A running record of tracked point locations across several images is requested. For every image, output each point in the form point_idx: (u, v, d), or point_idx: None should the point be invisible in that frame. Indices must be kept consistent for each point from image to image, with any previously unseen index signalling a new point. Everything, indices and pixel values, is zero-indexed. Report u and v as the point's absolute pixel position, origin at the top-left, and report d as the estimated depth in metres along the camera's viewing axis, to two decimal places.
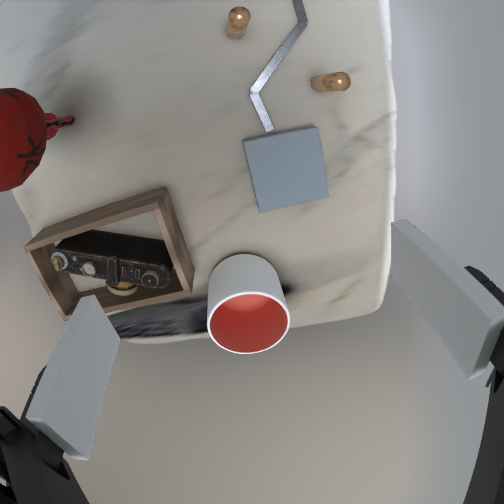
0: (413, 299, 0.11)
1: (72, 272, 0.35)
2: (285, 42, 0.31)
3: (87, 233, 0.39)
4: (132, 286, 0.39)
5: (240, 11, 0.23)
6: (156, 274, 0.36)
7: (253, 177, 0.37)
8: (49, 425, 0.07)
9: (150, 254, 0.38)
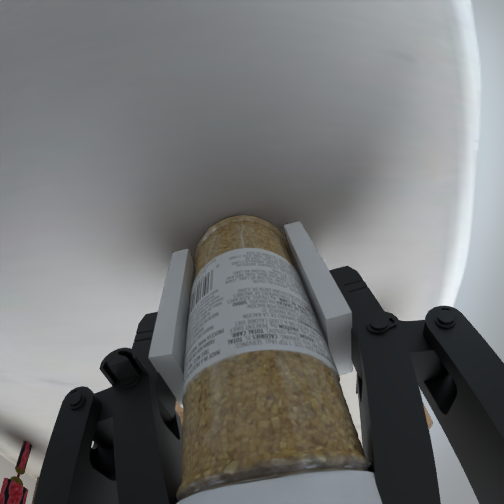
0: None
1: None
2: None
3: None
4: None
5: None
6: None
7: None
8: (177, 363, 0.09)
9: None
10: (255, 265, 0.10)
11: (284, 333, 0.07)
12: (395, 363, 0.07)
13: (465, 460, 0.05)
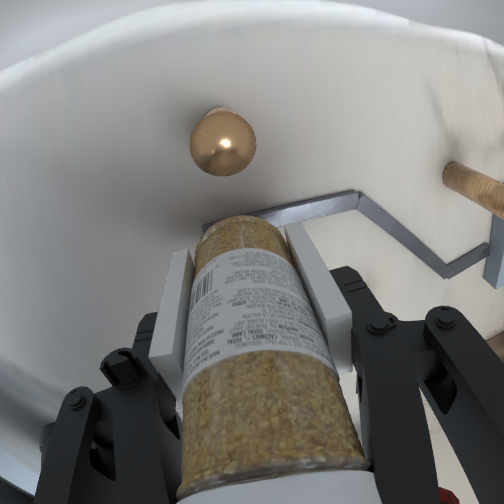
0: None
1: None
2: (393, 233, 0.20)
3: None
4: None
5: None
6: None
7: None
8: (177, 363, 0.09)
9: None
10: (254, 265, 0.10)
11: (284, 333, 0.07)
12: (395, 363, 0.07)
13: (465, 460, 0.05)
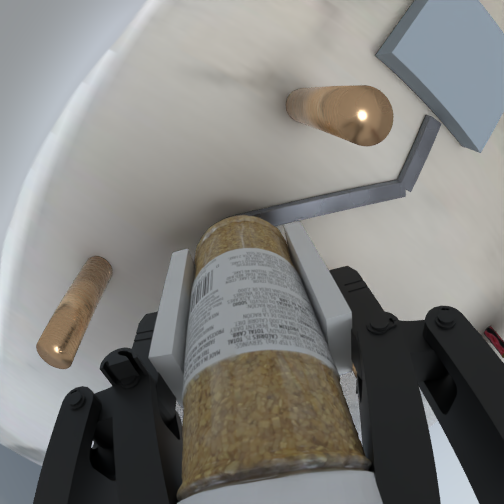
0: None
1: None
2: (292, 219, 0.18)
3: None
4: None
5: None
6: None
7: None
8: (177, 363, 0.09)
9: None
10: (255, 265, 0.10)
11: (284, 333, 0.07)
12: (395, 363, 0.07)
13: (465, 460, 0.05)
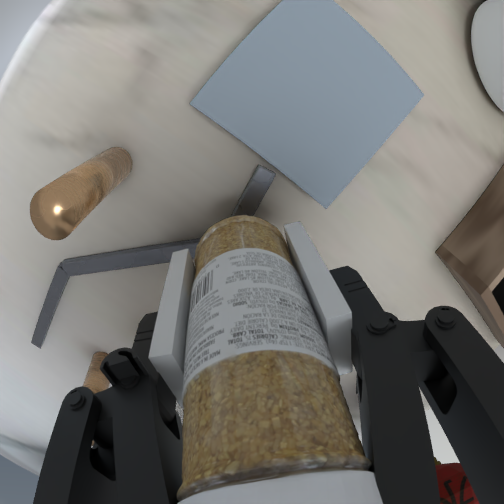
0: None
1: None
2: (111, 267, 0.19)
3: None
4: None
5: None
6: None
7: (375, 147, 0.15)
8: (177, 363, 0.09)
9: None
10: (255, 265, 0.10)
11: (284, 333, 0.07)
12: (396, 363, 0.07)
13: (465, 460, 0.05)
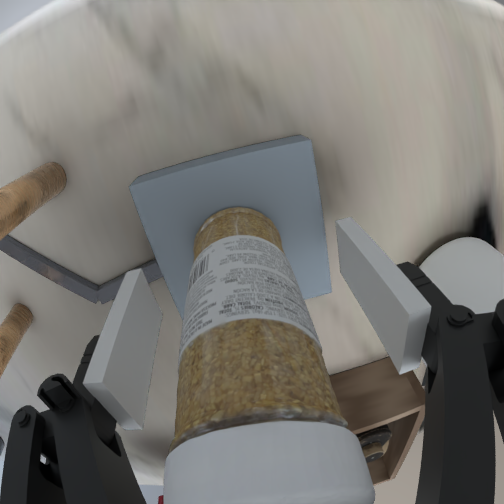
0: (355, 294, 0.13)
1: None
2: (6, 251, 0.16)
3: None
4: None
5: None
6: (367, 449, 0.20)
7: None
8: (109, 390, 0.08)
9: None
10: (246, 249, 0.11)
11: (269, 305, 0.08)
12: (471, 356, 0.06)
13: None
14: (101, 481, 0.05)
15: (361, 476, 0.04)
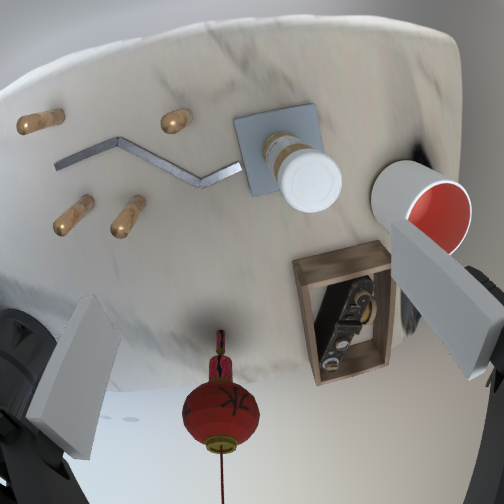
0: (413, 299, 0.11)
1: (343, 354, 0.43)
2: (142, 157, 0.34)
3: (316, 328, 0.47)
4: (370, 304, 0.41)
5: (115, 229, 0.30)
6: (359, 292, 0.37)
7: None
8: (49, 425, 0.07)
9: (342, 287, 0.40)
10: (292, 137, 0.28)
11: (304, 143, 0.25)
12: None
13: None
14: (50, 500, 0.04)
15: (334, 161, 0.21)
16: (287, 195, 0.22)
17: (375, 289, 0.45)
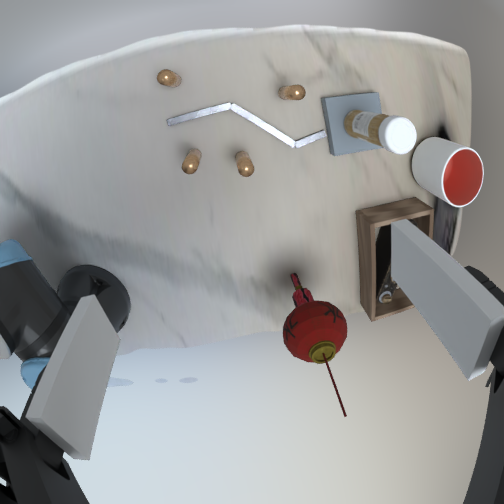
0: (413, 299, 0.11)
1: (394, 288, 0.53)
2: (251, 120, 0.43)
3: None
4: None
5: (242, 168, 0.39)
6: None
7: (360, 150, 0.45)
8: (49, 425, 0.07)
9: None
10: None
11: None
12: None
13: None
14: (50, 500, 0.04)
15: (411, 124, 0.31)
16: (388, 141, 0.31)
17: None
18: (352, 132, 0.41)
